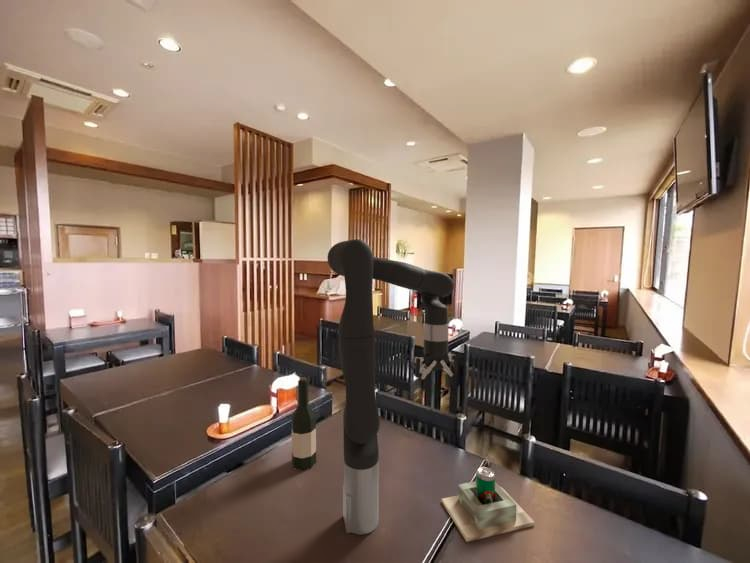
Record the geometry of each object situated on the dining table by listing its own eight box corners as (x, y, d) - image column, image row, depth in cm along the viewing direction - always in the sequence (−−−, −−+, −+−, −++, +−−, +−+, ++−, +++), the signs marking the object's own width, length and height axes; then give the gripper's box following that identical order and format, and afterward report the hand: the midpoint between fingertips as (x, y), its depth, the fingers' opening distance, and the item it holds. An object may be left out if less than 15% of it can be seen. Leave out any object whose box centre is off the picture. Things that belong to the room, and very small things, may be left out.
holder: (466, 541, 81) (466, 520, 80) (441, 501, 94) (441, 483, 94) (534, 525, 86) (534, 505, 85) (501, 489, 99) (501, 472, 99)
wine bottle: (321, 462, 113) (320, 378, 111) (301, 473, 107) (299, 384, 105) (307, 452, 119) (306, 372, 117) (287, 463, 113) (285, 378, 111)
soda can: (479, 503, 93) (480, 463, 93) (497, 512, 90) (498, 470, 90) (472, 514, 90) (473, 472, 89) (491, 523, 86) (491, 480, 86)
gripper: (419, 341, 95) (418, 395, 96) (462, 338, 99) (461, 390, 100) (410, 336, 103) (409, 386, 104) (450, 333, 106) (450, 382, 107)
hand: (435, 388), depth 102 cm, fingers open, 8 cm apart
